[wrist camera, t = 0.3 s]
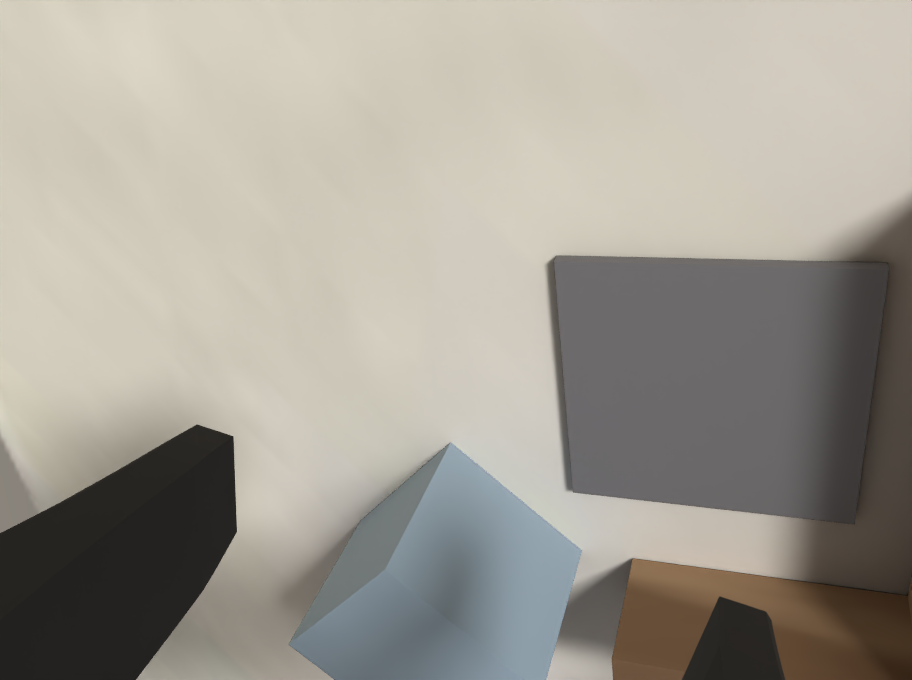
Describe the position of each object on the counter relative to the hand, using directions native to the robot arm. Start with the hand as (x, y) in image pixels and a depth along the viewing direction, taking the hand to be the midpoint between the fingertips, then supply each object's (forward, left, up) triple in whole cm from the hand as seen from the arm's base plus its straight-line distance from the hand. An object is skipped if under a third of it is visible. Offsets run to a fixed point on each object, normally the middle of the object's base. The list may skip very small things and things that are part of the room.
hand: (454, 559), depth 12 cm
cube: (-9, +4, -10) cm, 14 cm away
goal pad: (-3, -3, -10) cm, 11 cm away
